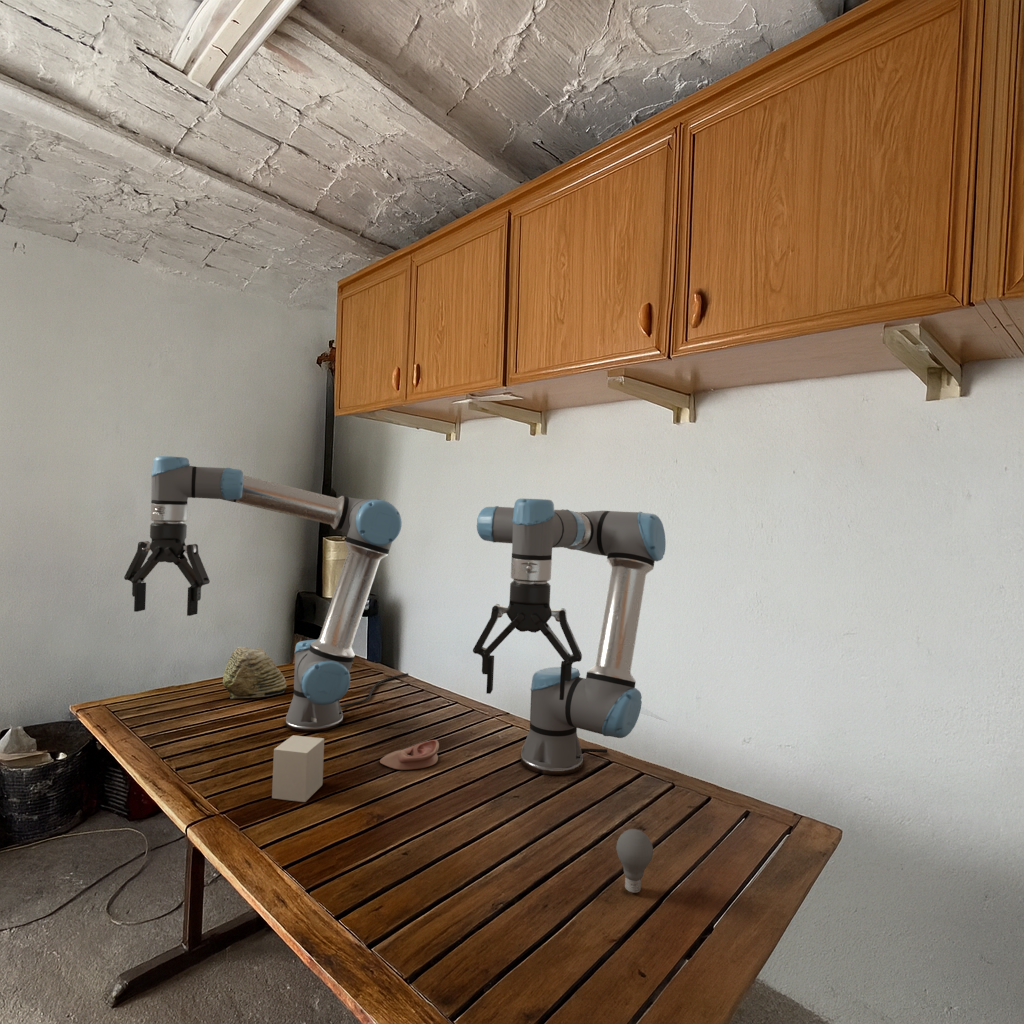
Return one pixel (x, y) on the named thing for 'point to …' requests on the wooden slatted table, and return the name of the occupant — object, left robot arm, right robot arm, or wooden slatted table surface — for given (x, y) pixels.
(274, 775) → the brick
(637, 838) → the light bulb
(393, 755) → the anatomical model
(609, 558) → the right robot arm
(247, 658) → the fossil
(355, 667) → the wooden slatted table surface
